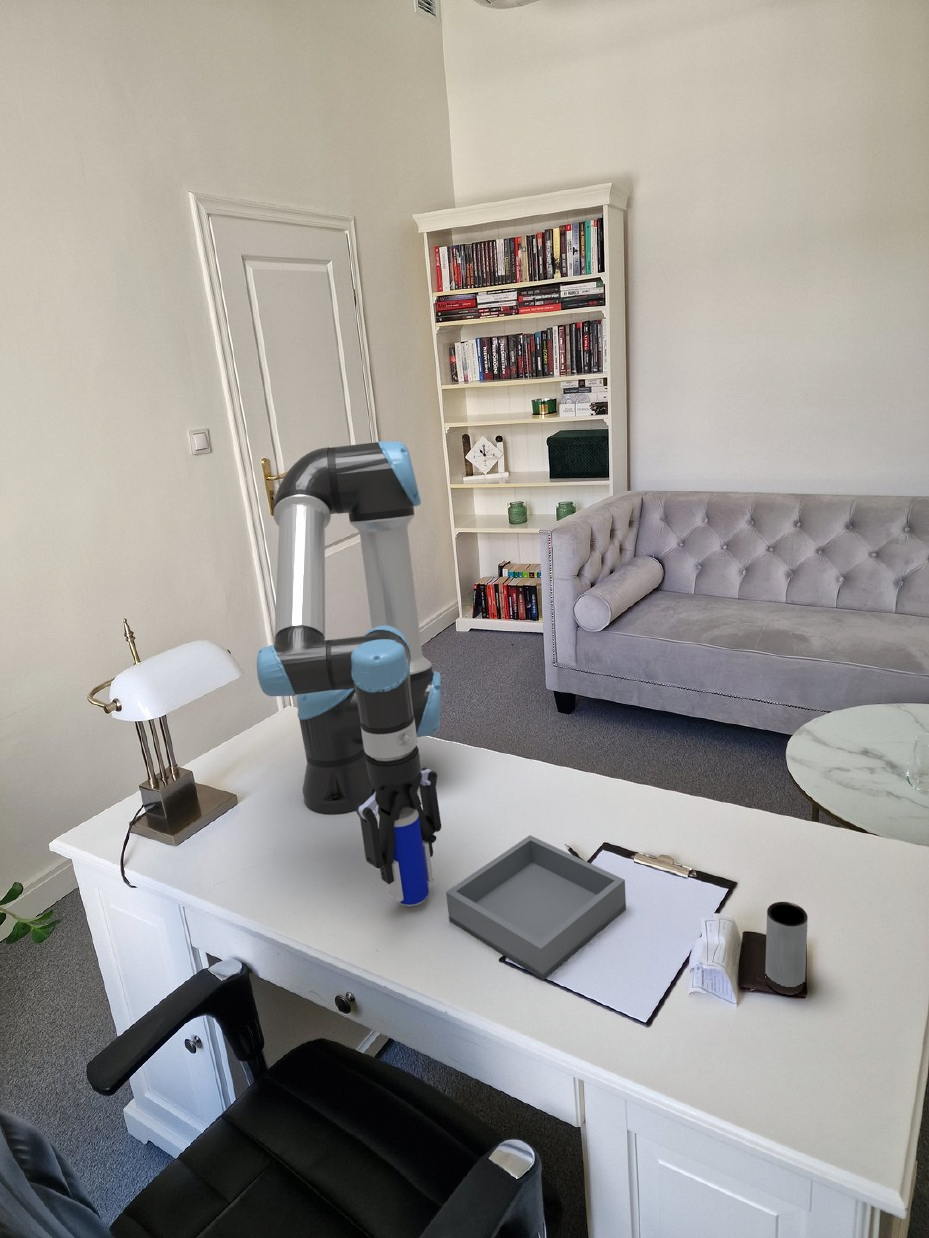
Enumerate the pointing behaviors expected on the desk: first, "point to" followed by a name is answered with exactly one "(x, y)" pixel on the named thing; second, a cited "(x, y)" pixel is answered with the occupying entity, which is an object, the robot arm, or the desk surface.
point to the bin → (536, 904)
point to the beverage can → (410, 857)
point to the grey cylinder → (786, 944)
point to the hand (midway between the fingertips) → (410, 886)
